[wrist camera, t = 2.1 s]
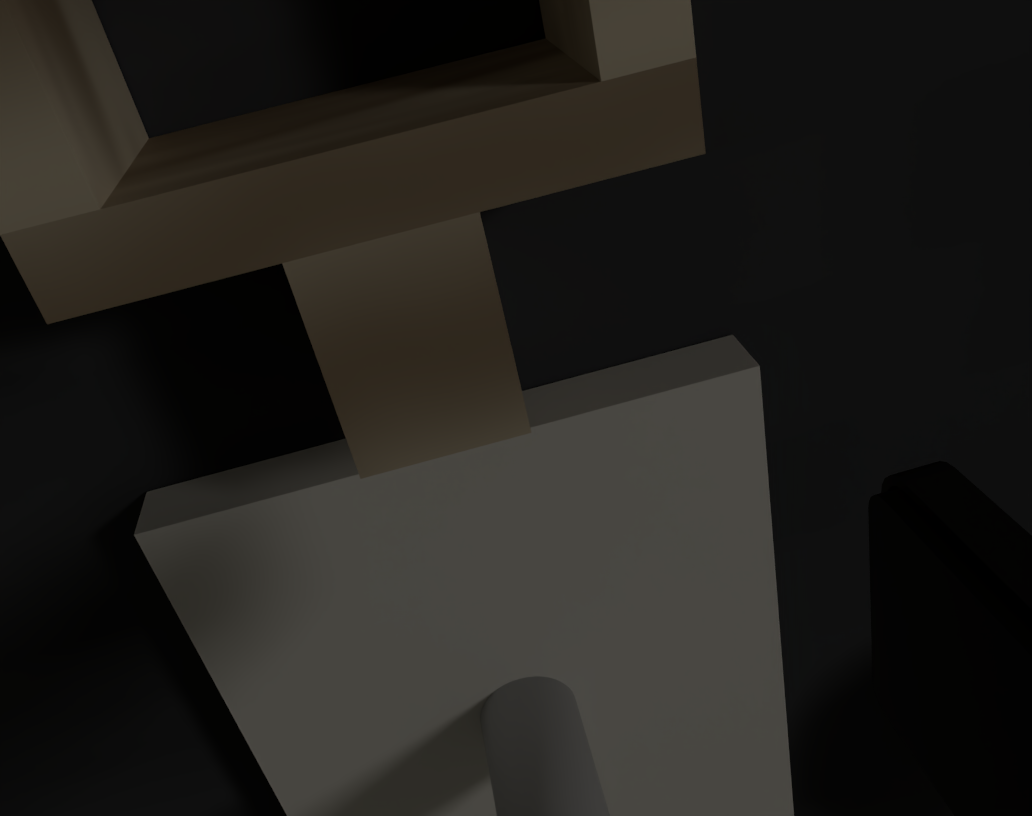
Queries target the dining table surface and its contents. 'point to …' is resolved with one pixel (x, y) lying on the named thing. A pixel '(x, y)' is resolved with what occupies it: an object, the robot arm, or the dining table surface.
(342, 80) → the dining table surface
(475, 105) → the birch loop
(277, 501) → the post stand
